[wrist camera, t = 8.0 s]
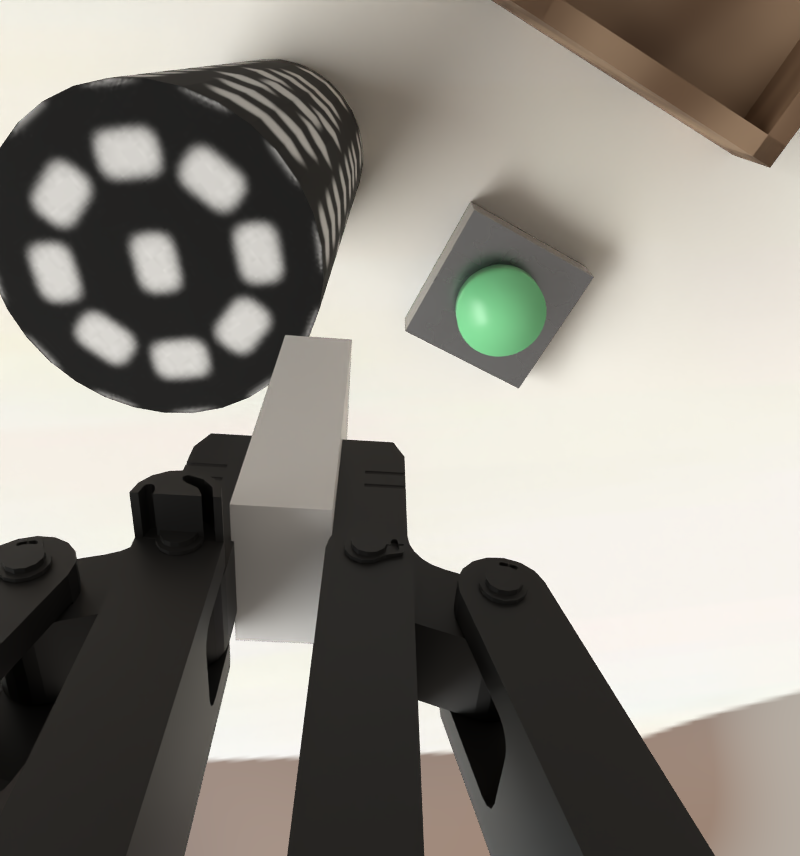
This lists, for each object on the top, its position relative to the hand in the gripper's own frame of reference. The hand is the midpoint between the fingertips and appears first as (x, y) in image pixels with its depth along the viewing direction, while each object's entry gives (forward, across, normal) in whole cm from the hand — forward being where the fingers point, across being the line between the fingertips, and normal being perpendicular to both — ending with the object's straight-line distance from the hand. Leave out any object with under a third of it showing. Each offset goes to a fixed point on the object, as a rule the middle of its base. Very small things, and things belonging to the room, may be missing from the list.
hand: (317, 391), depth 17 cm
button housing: (+22, +8, -5) cm, 24 cm away
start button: (+21, +8, -4) cm, 23 cm away
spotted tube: (+23, -4, +2) cm, 23 cm away
